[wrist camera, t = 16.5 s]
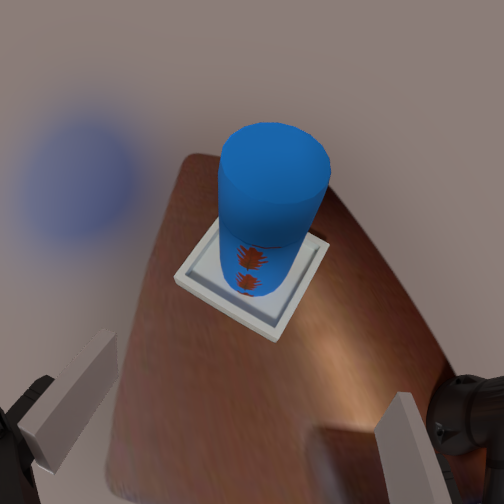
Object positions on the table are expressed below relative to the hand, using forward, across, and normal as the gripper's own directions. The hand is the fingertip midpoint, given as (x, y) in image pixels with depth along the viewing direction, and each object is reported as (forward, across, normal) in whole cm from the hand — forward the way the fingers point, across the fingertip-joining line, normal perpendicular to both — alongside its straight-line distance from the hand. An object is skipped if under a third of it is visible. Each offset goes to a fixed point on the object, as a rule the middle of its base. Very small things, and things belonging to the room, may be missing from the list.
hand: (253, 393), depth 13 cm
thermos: (+38, -2, -9) cm, 39 cm away
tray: (+38, -2, -9) cm, 39 cm away
